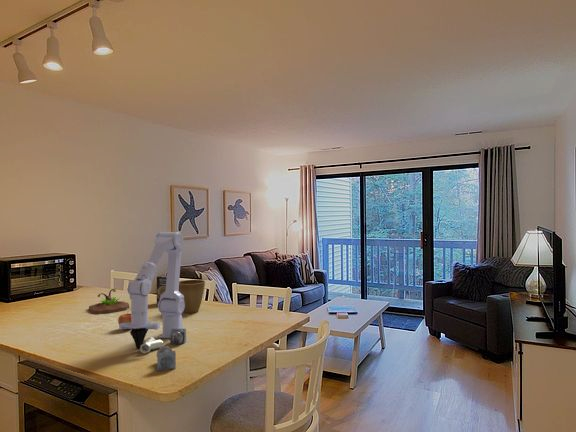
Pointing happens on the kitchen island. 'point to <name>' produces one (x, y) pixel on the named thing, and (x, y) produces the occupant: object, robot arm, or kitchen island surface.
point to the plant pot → (192, 294)
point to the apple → (124, 319)
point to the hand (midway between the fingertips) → (139, 348)
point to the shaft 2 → (178, 336)
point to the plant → (109, 305)
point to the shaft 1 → (166, 359)
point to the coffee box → (161, 286)
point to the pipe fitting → (150, 345)
